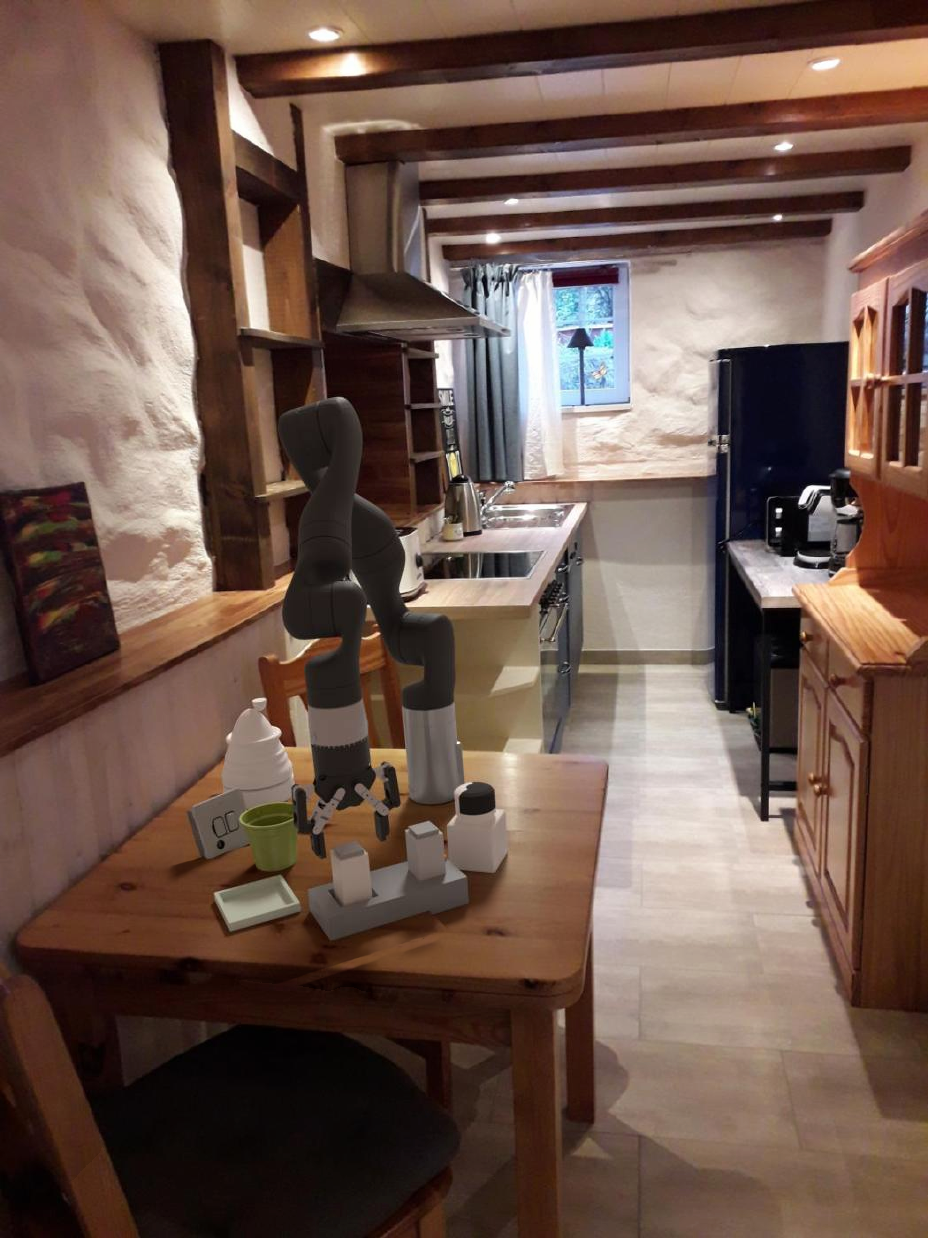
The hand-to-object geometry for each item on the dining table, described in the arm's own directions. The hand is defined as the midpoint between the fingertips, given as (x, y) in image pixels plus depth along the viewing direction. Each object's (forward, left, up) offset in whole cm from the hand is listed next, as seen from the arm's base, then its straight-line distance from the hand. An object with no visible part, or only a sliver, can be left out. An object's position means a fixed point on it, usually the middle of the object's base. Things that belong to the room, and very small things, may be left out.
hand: (351, 847), depth 127 cm
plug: (0, 0, -10) cm, 10 cm away
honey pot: (0, -52, -11) cm, 53 cm away
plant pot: (+5, -22, -11) cm, 25 cm away
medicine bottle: (-22, -6, -11) cm, 25 cm away
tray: (+11, -10, -11) cm, 19 cm away
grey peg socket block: (-5, 0, -11) cm, 11 cm away
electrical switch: (+11, -33, -11) cm, 37 cm away
